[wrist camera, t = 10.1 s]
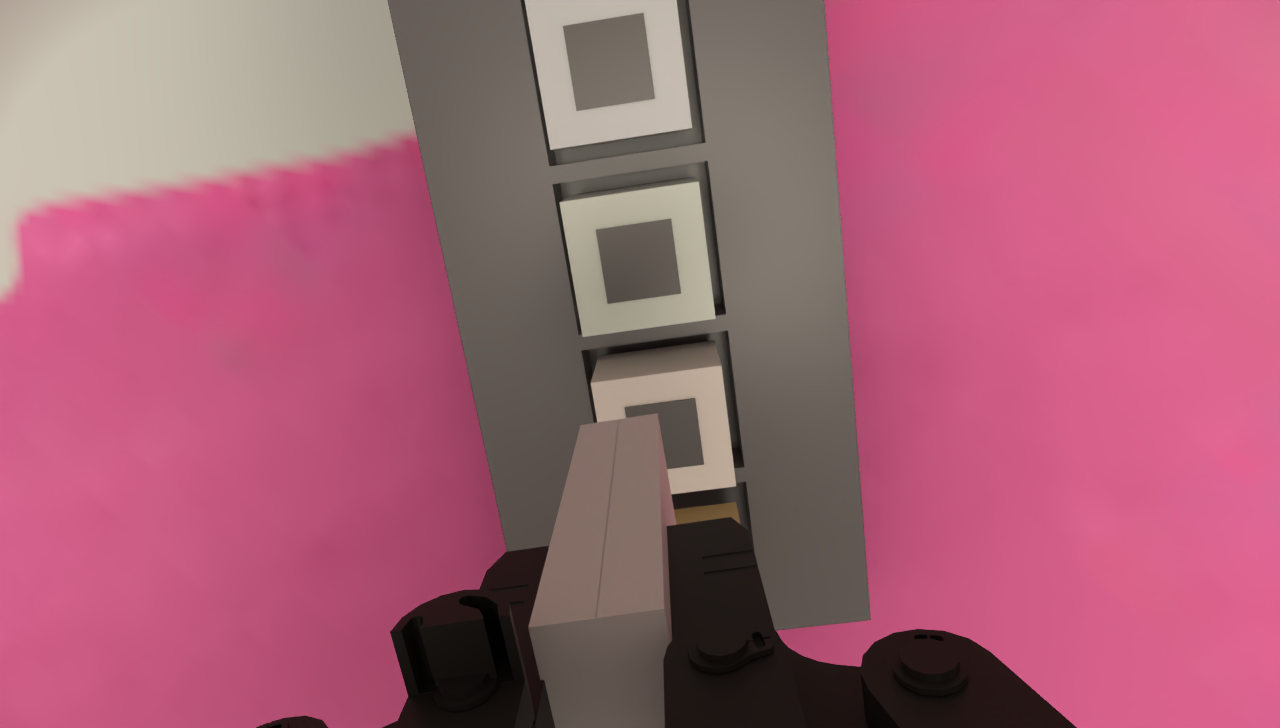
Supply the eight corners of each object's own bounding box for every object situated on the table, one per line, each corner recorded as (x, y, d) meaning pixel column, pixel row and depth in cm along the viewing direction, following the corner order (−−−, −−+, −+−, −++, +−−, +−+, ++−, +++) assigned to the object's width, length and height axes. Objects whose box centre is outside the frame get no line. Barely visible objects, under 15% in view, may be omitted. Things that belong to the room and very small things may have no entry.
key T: (616, 462, 30) (611, 502, 27) (598, 356, 29) (590, 383, 26) (728, 449, 30) (736, 487, 26) (714, 340, 29) (721, 366, 25)
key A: (591, 315, 28) (582, 337, 25) (571, 195, 27) (559, 202, 24) (709, 298, 28) (715, 319, 25) (694, 177, 27) (698, 181, 24)
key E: (563, 149, 27) (549, 149, 23) (541, 14, 26) (523, -6, 22) (688, 130, 27) (692, 127, 23) (671, -8, 25) (672, -31, 22)
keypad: (539, 621, 34) (530, 657, 32) (406, -10, 27) (382, -26, 25) (855, 585, 33) (870, 619, 31) (802, -78, 26) (816, -100, 24)
